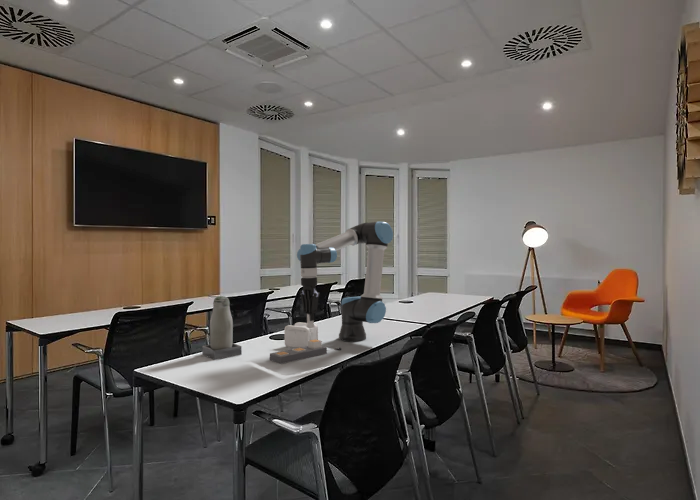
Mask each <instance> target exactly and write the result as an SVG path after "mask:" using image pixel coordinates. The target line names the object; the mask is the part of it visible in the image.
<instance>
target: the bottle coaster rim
mask: <svg viewBox="0 0 700 500" xmlns="http://www.w3.org/2000/svg"><path fill="white" fill-rule="evenodd" d="M201 348H202V353H201V354H202V355H203V356H205V357H206V358H207V357H208V358H210V359H211V360H214V361H215V360H220V359H221V360H222V359H225V358H231V357H236V356H241V355H242V350H243V348H242V345H240V344H236V343H234V342H233V343H232V348H226V349H221V350H213V349H211V345H210V344H206V345H202V347H201Z"/></svg>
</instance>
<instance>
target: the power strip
mask: <svg viewBox="0 0 700 500" xmlns="http://www.w3.org/2000/svg"><path fill="white" fill-rule="evenodd" d="M297 348H298V347H294V349H297ZM300 348H302V349H306V351H303V352H294V351H292V349H293V348H291V349H285V350H281V351H277V352H271V353H269V360H270V361H272V362H274V363H277V364H280V365H282V364H286V363H290V362H296V361H299V360H305V359H309V358H313V357H317V356H321V355H326V354H328V351H329V349H327V348H328V347H326V346H323V345H322V348H317V349H312V348H308V346H305V347H300ZM331 350H335V351H342V347H336V348H331V349H330V351H331ZM279 352H287V353H289V355H284V356H279V355H276V354H275V353H279Z"/></svg>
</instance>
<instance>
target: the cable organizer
mask: <svg viewBox="0 0 700 500" xmlns="http://www.w3.org/2000/svg"><path fill="white" fill-rule="evenodd" d="M315 339H316V340H319V327H318V325H317V324H316V323H314V327H313V328H307V322H300V321H299V322H296V323H294V325H291V324H288V325H286V326H285V327H284V345H285V347H287V348H288V347H293V348H300V347H305V346H308V341H310V340H315Z"/></svg>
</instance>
